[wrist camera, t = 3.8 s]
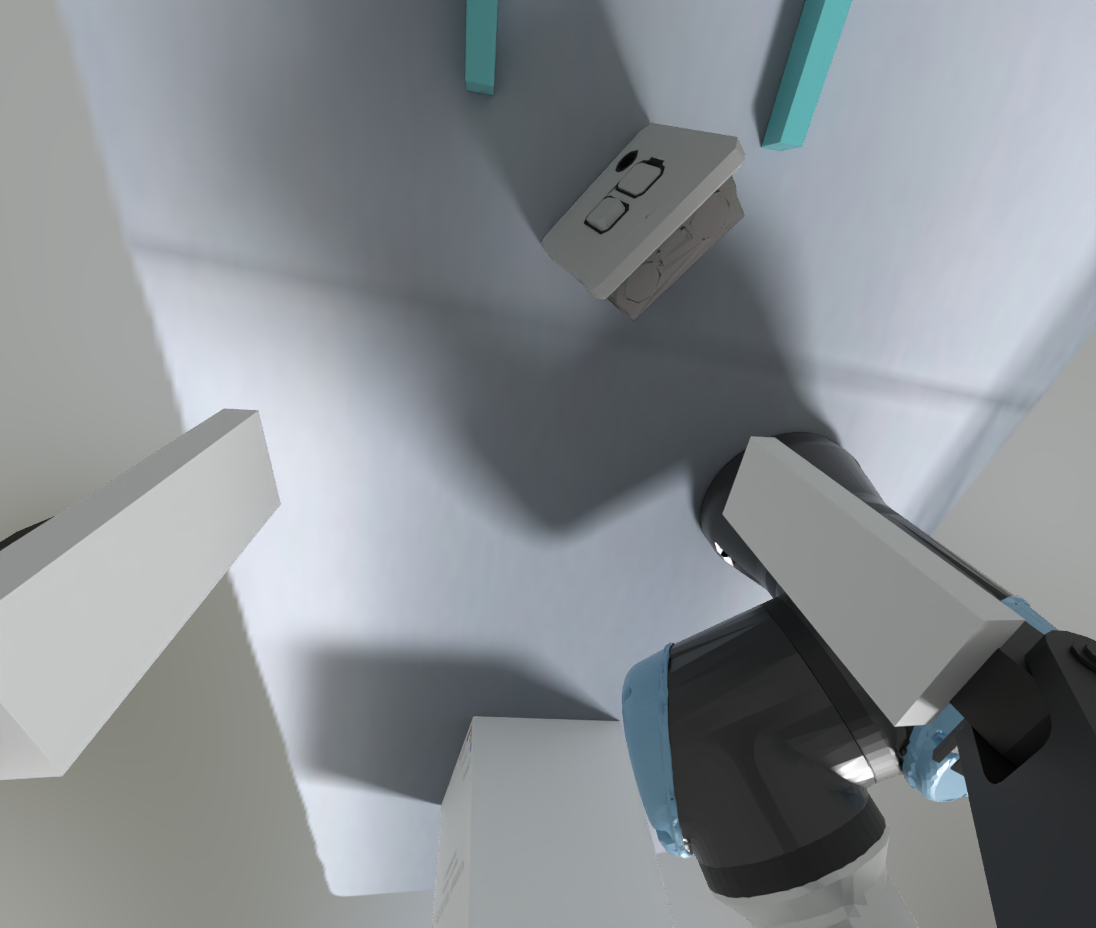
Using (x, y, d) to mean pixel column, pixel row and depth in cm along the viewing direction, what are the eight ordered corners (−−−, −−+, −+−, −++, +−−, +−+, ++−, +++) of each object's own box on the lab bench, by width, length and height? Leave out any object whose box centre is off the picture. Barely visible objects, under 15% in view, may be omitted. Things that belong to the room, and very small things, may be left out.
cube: (473, 712, 55) (466, 1014, 34) (619, 718, 61) (690, 981, 40) (441, 802, 67) (421, 1069, 46) (566, 799, 72) (600, 1038, 51)
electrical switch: (646, 121, 25) (729, 99, 18) (688, 195, 28) (775, 202, 21) (536, 242, 28) (568, 267, 20) (584, 299, 31) (628, 339, 23)
